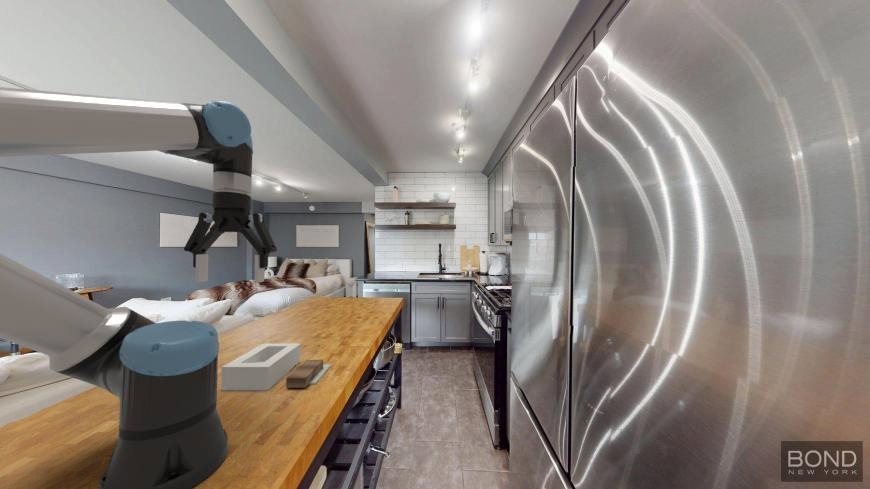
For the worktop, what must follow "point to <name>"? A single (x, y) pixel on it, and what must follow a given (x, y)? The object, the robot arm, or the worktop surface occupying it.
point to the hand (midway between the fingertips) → (230, 282)
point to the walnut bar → (304, 374)
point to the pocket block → (260, 367)
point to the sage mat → (320, 374)
